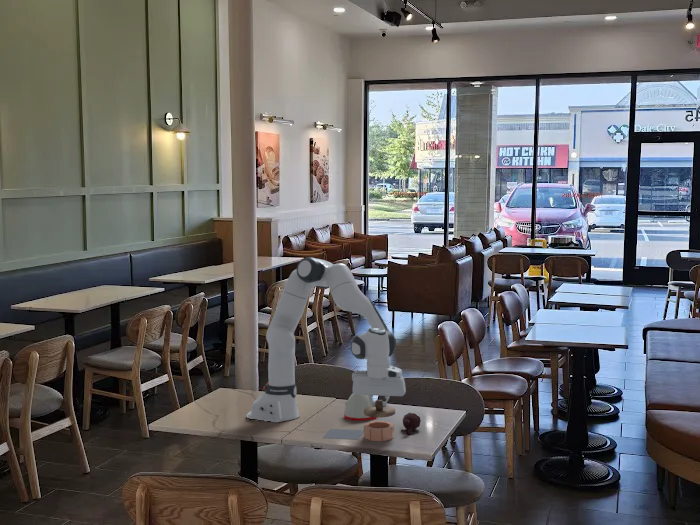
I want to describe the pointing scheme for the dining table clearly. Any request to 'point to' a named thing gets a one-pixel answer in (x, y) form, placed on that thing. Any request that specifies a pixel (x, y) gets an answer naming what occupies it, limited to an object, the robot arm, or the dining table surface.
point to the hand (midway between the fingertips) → (379, 406)
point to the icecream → (411, 422)
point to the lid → (379, 410)
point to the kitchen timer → (357, 408)
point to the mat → (344, 434)
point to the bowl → (379, 431)
